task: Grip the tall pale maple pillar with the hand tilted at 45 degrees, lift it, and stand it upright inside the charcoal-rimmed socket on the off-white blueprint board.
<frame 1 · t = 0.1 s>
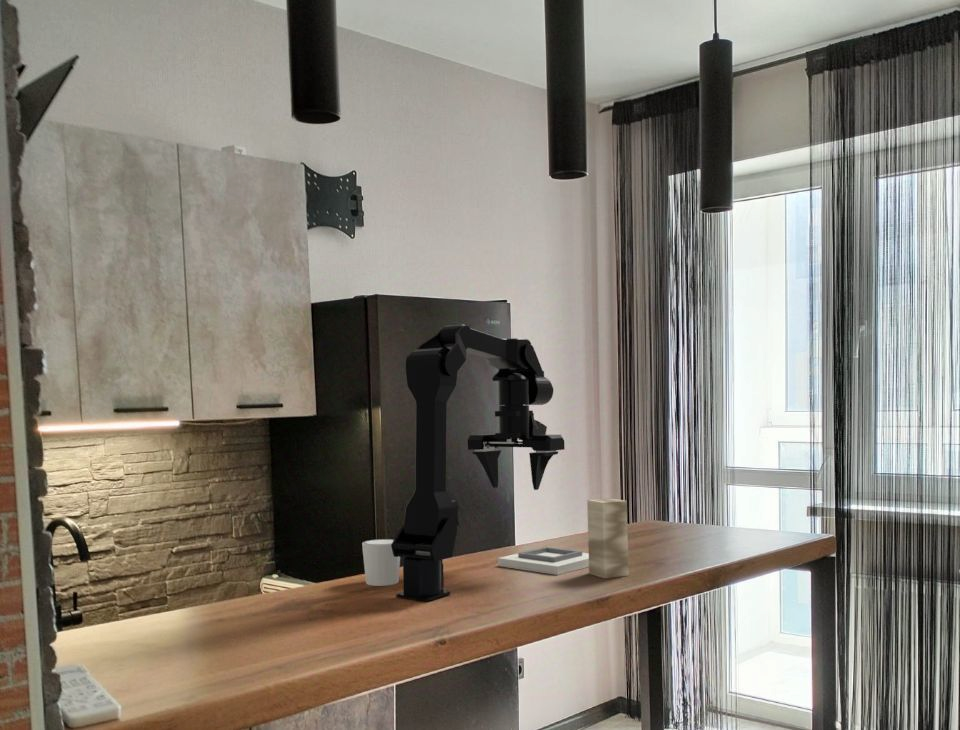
hand: (515, 488, 159), 15 cm above the table, tool pointing down, fingers open, 9 cm apart
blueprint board: (550, 564, 160), on the table
maple pillar: (608, 574, 150), on the table
white cup: (382, 583, 146), on the table
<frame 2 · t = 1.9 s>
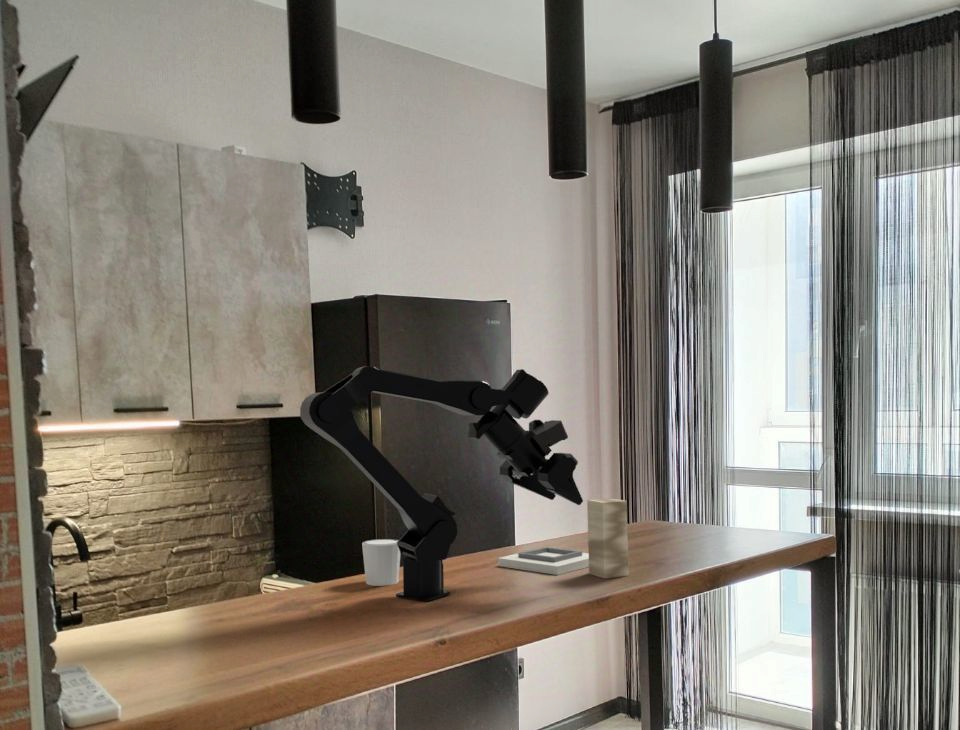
hand: (567, 500, 147), 13 cm above the table, tool tilted 45°, fingers open, 9 cm apart
nothing on the table moved.
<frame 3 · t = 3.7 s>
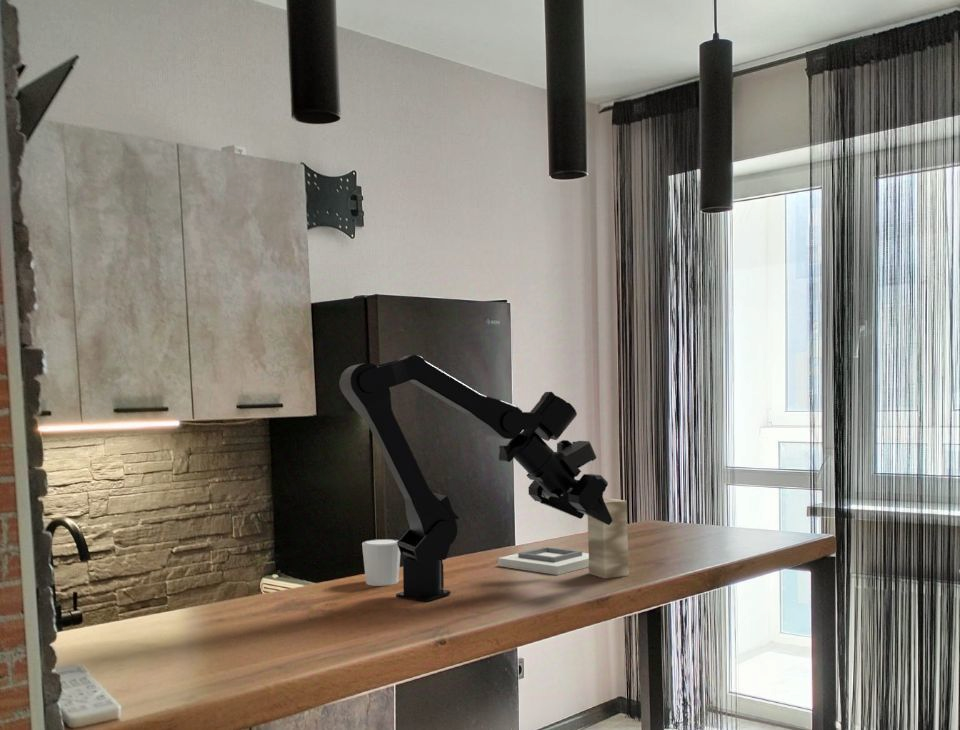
hand: (596, 519, 149), 10 cm above the table, tool tilted 45°, fingers open, 9 cm apart
nothing on the table moved.
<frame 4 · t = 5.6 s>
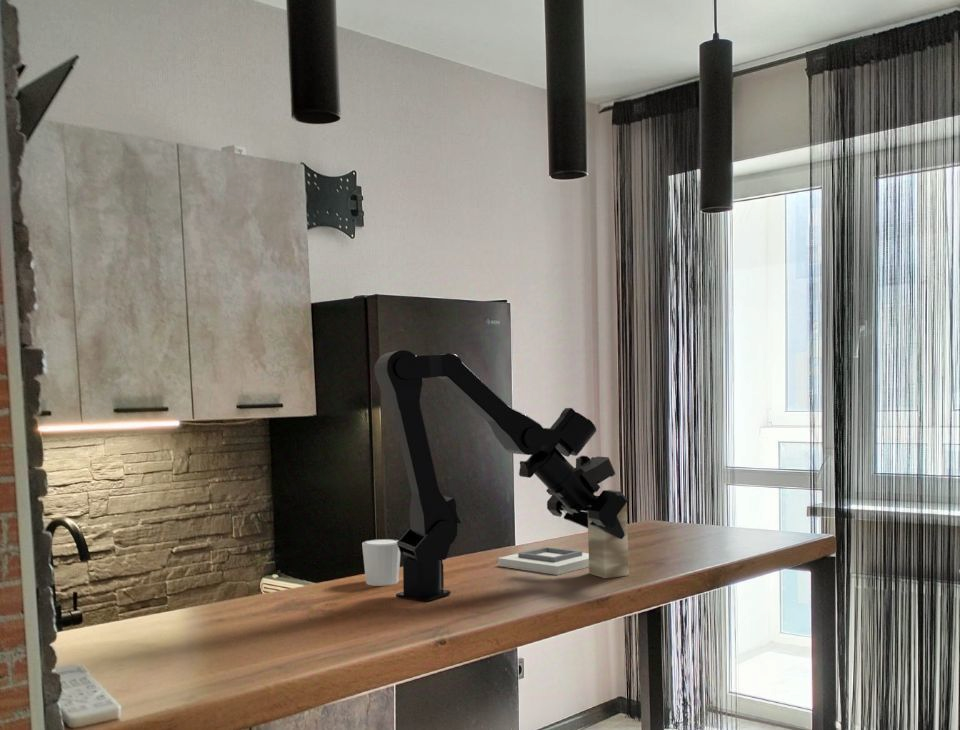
hand: (614, 534, 150), 7 cm above the table, tool tilted 45°, fingers closed on maple pillar, 5 cm apart
maple pillar: (608, 574, 150), on the table, touching gripper
everything else where it was.
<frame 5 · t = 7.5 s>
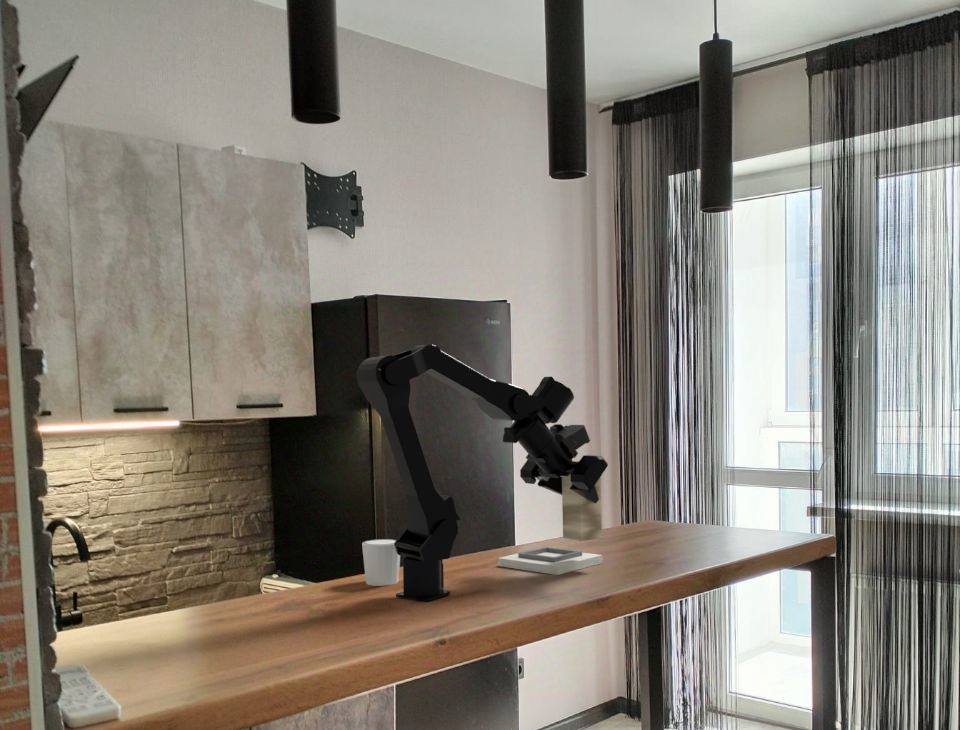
hand: (587, 500, 156), 12 cm above the table, tool tilted 45°, fingers closed on maple pillar, 5 cm apart
maple pillar: (582, 538, 155), point 6 cm above the table, touching gripper
everything else where it was.
when the fingers open (10 cm above the table, at t = 9.6 s): maple pillar drops 1 cm, resting on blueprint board.
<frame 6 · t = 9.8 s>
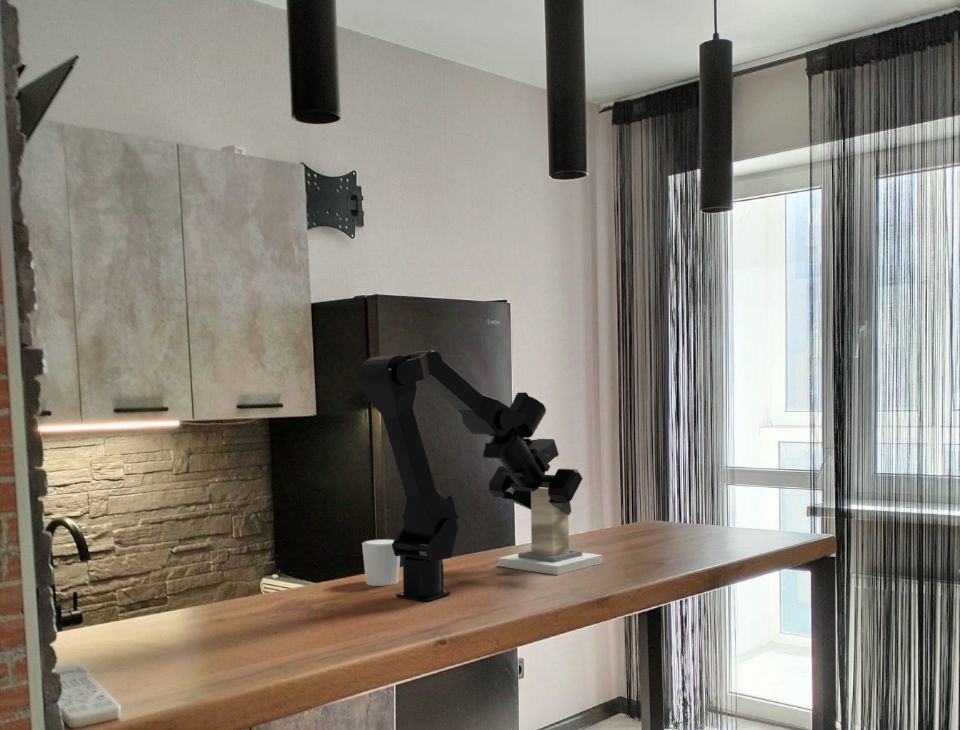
hand: (553, 511, 161), 10 cm above the table, tool tilted 45°, fingers open, 7 cm apart
maple pillar: (550, 556, 160), point 2 cm above the table, touching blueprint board
everything else where it was.
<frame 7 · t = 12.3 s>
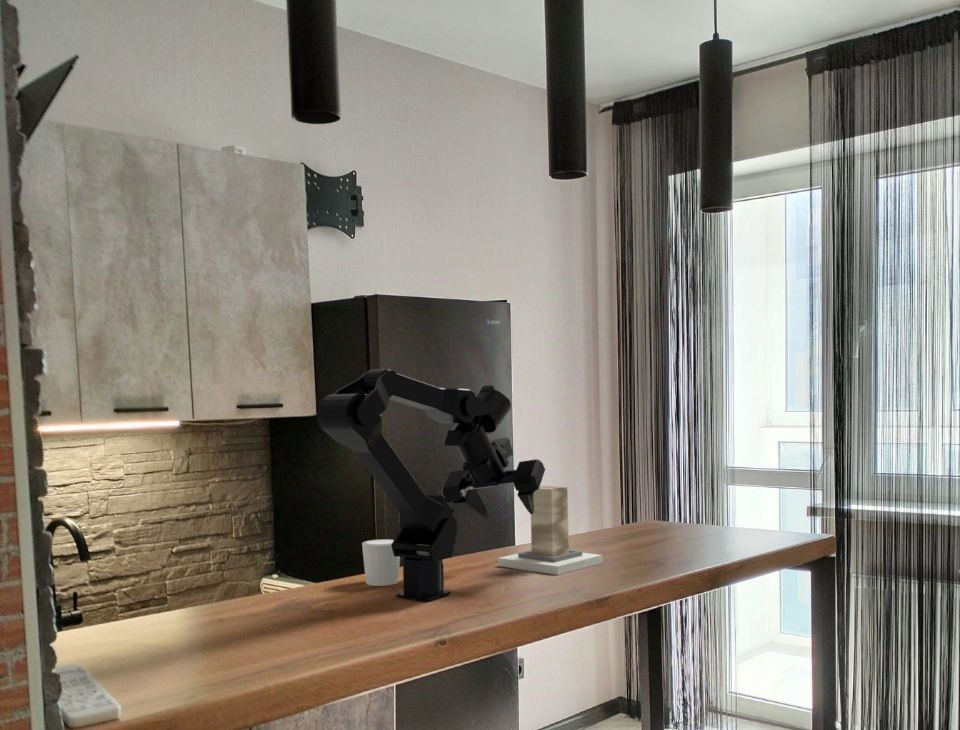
hand: (509, 515, 155), 10 cm above the table, tool tilted 35°, fingers open, 9 cm apart
nothing on the table moved.
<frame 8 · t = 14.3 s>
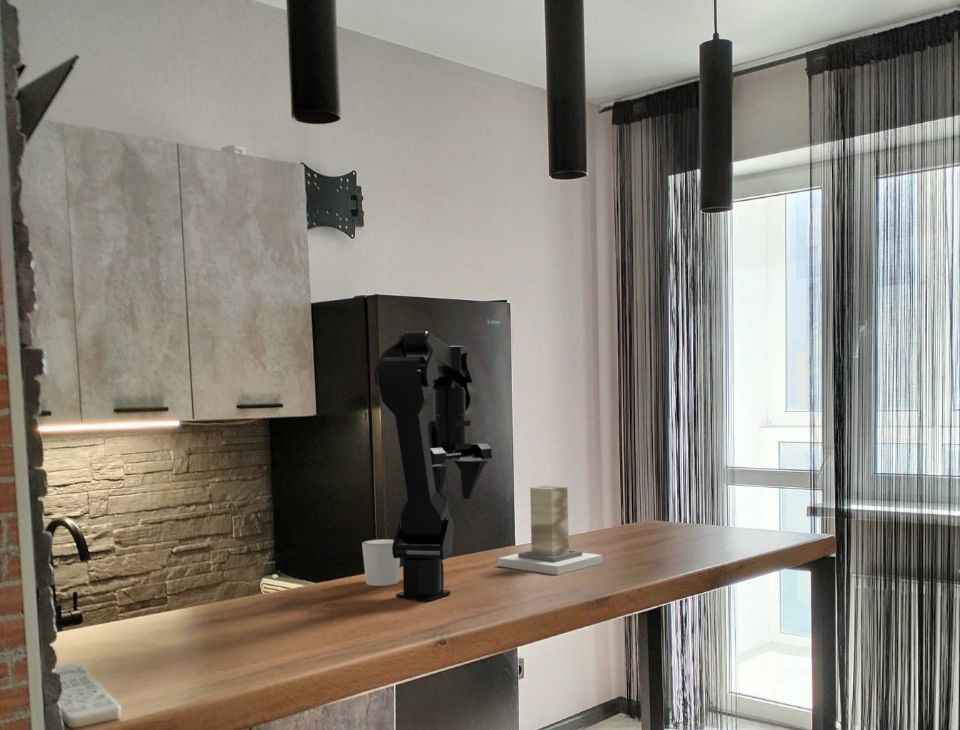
hand: (451, 501, 152), 13 cm above the table, tool pointing down, fingers open, 9 cm apart
nothing on the table moved.
at the end: maple pillar 0.0 cm off-centre on the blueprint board, point 1.5 cm above the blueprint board's base; maple pillar tilted 0°; the gripper is holding nothing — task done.
